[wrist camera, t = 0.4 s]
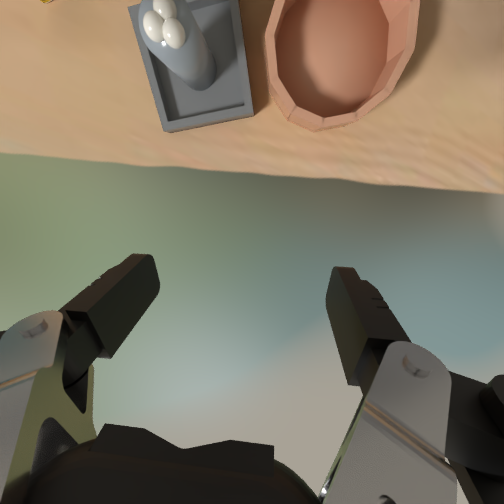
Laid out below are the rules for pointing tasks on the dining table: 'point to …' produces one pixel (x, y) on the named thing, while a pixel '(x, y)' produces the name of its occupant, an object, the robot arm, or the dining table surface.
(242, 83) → the parts tray
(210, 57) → the pebble cup
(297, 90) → the bowl
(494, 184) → the dining table surface
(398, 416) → the robot arm
